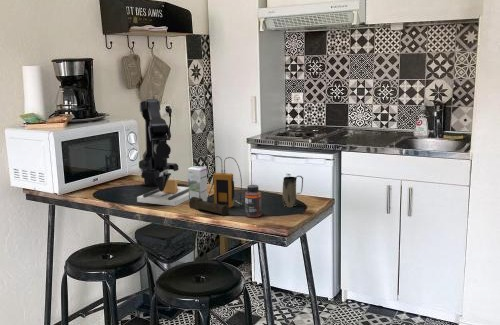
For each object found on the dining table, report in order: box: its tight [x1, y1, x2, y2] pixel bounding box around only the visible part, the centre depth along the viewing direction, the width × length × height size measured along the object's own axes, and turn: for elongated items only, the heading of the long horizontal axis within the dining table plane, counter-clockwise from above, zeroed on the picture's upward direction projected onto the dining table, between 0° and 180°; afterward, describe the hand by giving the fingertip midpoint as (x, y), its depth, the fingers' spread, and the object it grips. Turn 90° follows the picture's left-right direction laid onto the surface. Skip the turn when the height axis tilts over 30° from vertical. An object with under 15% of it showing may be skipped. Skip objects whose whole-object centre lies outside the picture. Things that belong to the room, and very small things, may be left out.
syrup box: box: [187, 165, 209, 202], centre depth 204 cm, size 6×6×14 cm
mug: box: [282, 175, 304, 208], centre depth 198 cm, size 8×6×12 cm
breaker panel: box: [136, 185, 189, 207], centre depth 213 cm, size 22×18×3 cm
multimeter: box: [206, 155, 245, 209], centre depth 200 cm, size 15×10×20 cm
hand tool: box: [188, 197, 230, 217], centre depth 193 cm, size 19×4×5 cm, turn 49°
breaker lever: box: [163, 179, 178, 193], centre depth 213 cm, size 2×6×5 cm, turn 67°
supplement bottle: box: [244, 184, 263, 218], centre depth 185 cm, size 6×6×11 cm
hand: (161, 191), depth 207 cm, fingers closed
